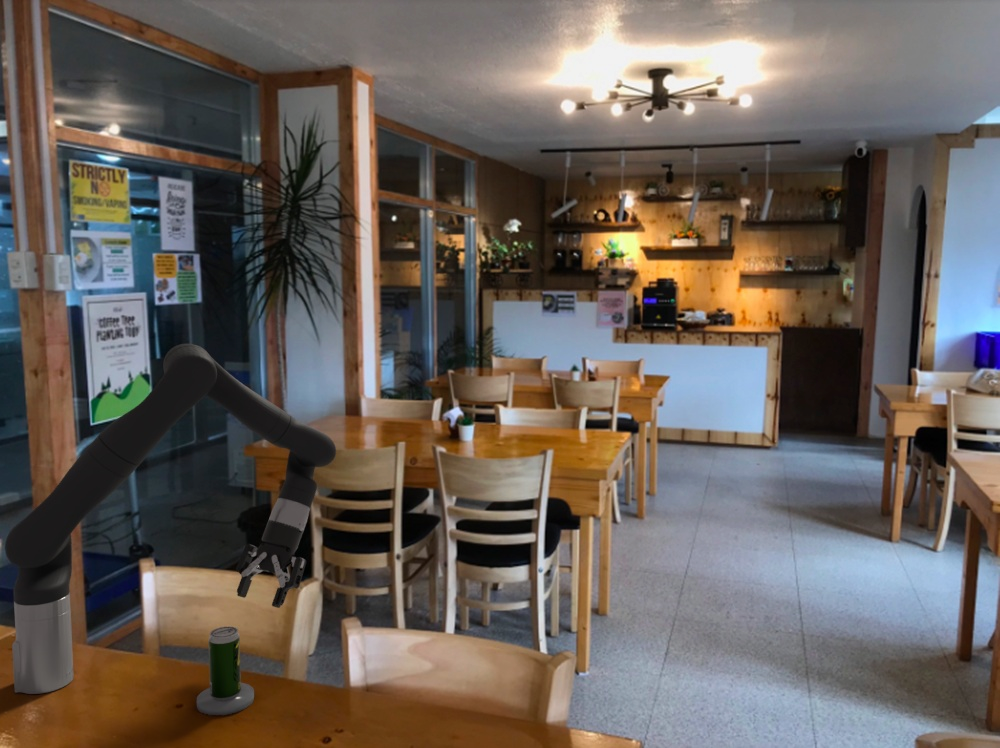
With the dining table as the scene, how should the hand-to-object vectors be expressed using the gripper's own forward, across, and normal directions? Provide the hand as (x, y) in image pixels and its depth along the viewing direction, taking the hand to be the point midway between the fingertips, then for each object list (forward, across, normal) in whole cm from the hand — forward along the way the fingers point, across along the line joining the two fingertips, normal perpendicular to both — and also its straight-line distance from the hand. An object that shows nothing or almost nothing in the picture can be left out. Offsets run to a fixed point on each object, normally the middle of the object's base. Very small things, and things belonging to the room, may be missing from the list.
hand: (258, 601), depth 158 cm
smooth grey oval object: (+18, +5, -7) cm, 20 cm away
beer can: (+17, +5, -7) cm, 19 cm away
